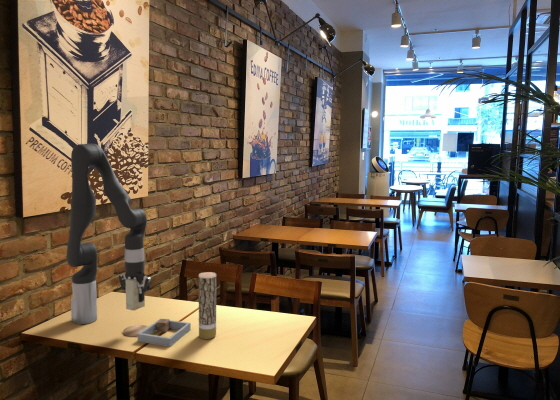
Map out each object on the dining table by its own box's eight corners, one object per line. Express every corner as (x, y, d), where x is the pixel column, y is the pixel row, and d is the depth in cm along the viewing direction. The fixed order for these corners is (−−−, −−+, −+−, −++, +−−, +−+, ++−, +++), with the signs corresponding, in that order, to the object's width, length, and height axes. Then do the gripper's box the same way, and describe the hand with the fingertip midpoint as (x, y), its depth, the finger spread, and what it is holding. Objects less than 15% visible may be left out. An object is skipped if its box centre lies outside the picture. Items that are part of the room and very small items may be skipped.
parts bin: (137, 341, 169) (137, 333, 169) (160, 325, 184) (160, 318, 184) (170, 346, 165) (170, 338, 165) (190, 330, 181) (190, 323, 180)
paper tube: (201, 340, 171) (201, 277, 168) (196, 334, 177) (196, 273, 174) (218, 337, 174) (218, 275, 171) (212, 331, 180) (213, 271, 177)
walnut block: (156, 332, 178) (156, 322, 178) (160, 328, 182) (160, 318, 182) (166, 332, 178) (166, 323, 178) (169, 328, 182) (169, 319, 182)
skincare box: (134, 311, 173) (133, 281, 172) (125, 309, 175) (124, 279, 174) (145, 306, 179) (144, 277, 178) (137, 304, 181) (136, 275, 180)
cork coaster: (117, 334, 175) (117, 333, 175) (133, 325, 185) (133, 323, 185) (140, 337, 172) (139, 336, 172) (154, 328, 182) (154, 326, 182)
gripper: (113, 260, 173) (114, 302, 175) (144, 263, 169) (145, 306, 171) (124, 255, 181) (125, 296, 183) (155, 258, 177) (156, 300, 179)
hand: (135, 300), depth 177 cm, fingers closed on skincare box, 4 cm apart
